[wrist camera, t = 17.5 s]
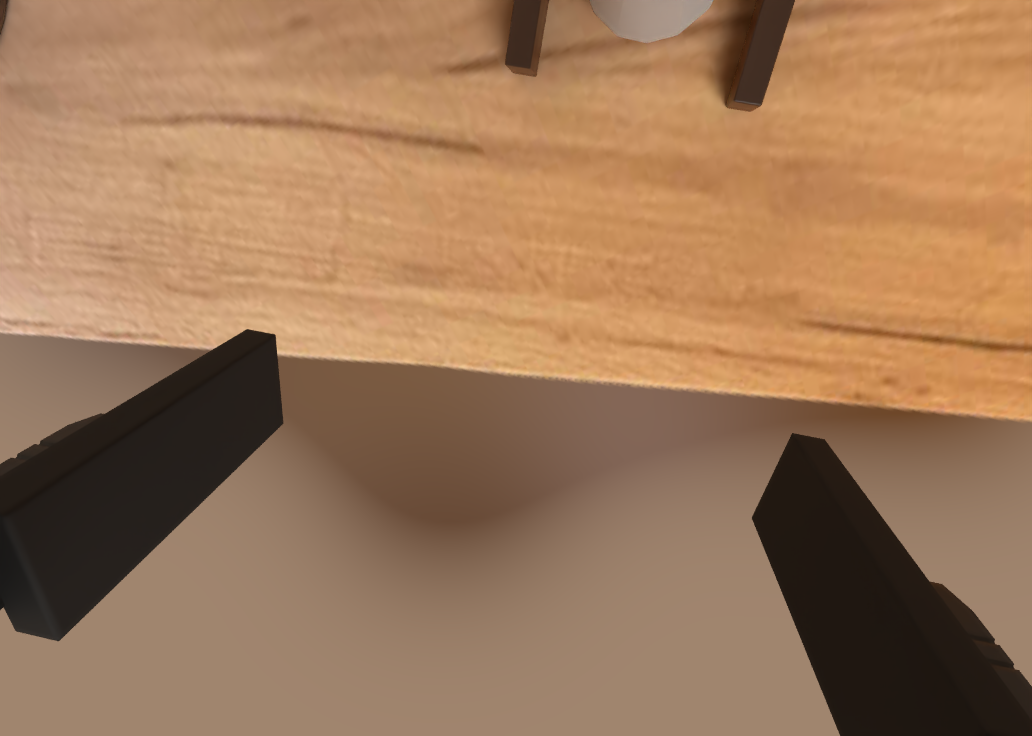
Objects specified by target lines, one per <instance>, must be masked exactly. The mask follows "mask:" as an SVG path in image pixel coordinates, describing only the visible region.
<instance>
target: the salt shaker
mask: <svg viewBox="0 0 1032 736" xmlns="http://www.w3.org/2000/svg"><path fill="white" fill-rule="evenodd" d="M589 1H590V3H591V6H592V9H593V11H594V13H595V14H596V15H597V16H598V17H599V18H600V19H601V20H602V21H603V22H604V23H605V24H606V25H607V26H608V27H609V28H610V29H611V30H612V31H613V32H614V33H615V34H616V35H617V36H618V37H621V38H626V39H630V40H635V41H639V42H643V43H650V42H654V41H658V40H661V39H665V38H669V37H673V36H676V35H679V34H680V33H681V32H682V31H683V30H684V29H686V28H687V27H688V26H689V25H690V24H692V23H693V22H694V21H695V20H696V19H698V18H699V17H700V16H701V15H702V14H703V13H705V12H706V11H707V10H708V9H709V8H710V6H711V4H712V2H713V0H589Z"/></svg>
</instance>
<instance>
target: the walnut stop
mask: <svg viewBox="0 0 1032 736" xmlns="http://www.w3.org/2000/svg"><path fill="white" fill-rule="evenodd" d="M548 2H549V0H514V6H513V13H512V20H511V27H510V34H509V41H508V48H507V55H506V62H505V65H506V66H507V67H508V68H509V69H510V70H511V71H512V72H513V73H516V74H522V75H528V76H534V77H535V76H536V75H537V69H538V63H539V57H540V51H541V45H542V39H543V33H544V27H545V21H546V15H547V8H548ZM794 2H795V0H757V2H756V5H755V9H754V12H753V15H752V19H751V22H750V26H749V29H748V32H747V36H746V39H745V43H744V46H743V49H742V53H741V56H740V60H739V63H738V66H737V70H736V73H735V77H734V80H733V83H732V87H731V90H730V93H729V97H728V100H727V104H726V107H727V108H731V109H737V110H743V111H749V112H751V111H753V110H755V109H756V108H758V107H760V106H761V105H762V102H763V99H764V96H765V93H766V90H767V87H768V84H769V81H770V77H771V74H772V71H773V68H774V65H775V62H776V59H777V55H778V52H779V49H780V46H781V43H782V40H783V37H784V33H785V30H786V27H787V24H788V21H789V18H790V15H791V11H792V8H793V5H794Z"/></svg>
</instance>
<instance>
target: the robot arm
mask: <svg viewBox="0 0 1032 736" xmlns="http://www.w3.org/2000/svg"><path fill="white" fill-rule="evenodd" d="M6 2H7V0H0V34H1V30H2V26H3V23H4V17H5V11H6ZM282 424H283V415H282V403H281V392H280V381H279V369H278V359H277V347H276V336H275V334H269V333H264V332H259V331H254V330H248V329H247V330H245V331H243V332H242V333H240V334H238V335H237V336H235V337H233V338H232V339H230V340H228V341H227V342H225V343H223V344H222V345H220V346H218V347H217V348H215V349H213V350H211V351H210V352H208V353H206V354H205V355H203V356H202V357H200V358H198V359H197V360H195V361H193V362H191V363H190V364H188V365H186V366H185V367H183V368H181V369H180V370H178V371H176V372H175V373H173V374H172V375H169V376H168V377H167V378H164V379H163V380H161V381H159V382H158V383H156V384H154V385H153V386H151V387H150V388H148V389H146V390H145V391H143V392H141V393H139V394H138V395H136V396H134V397H133V398H131V399H129V400H127V401H126V402H124V403H122V404H121V405H119V406H117V407H116V408H114V409H112V410H111V411H109V412H107V413H106V414H98V415H95V416H92V417H90V418H87V419H84V420H81V421H78V422H75V423H73V424H70V425H67V426H66V427H64V428H62V429H61V430H59V431H57V432H55V433H53V434H52V435H50V436H48V437H46V438H45V439H43V440H41V441H40V444H39V445H37V444H34V445H32V446H31V447H29V448H27V449H26V450H24V451H22V452H20V453H19V454H18V455H17V457H16V458H10V459H8V460H6V461H5V462H3V463H1V464H0V610H1V609H2V608H3V607H4V609H5V611H6V613H7V615H8V617H9V619H10V621H11V623H12V625H13V627H14V629H15V630H16V631H17V632H22V633H26V634H30V635H35V636H39V637H43V638H47V639H51V640H56V641H60V640H61V639H62V638H63V637H64V636H65V635H66V634H67V633H68V632H69V631H70V630H71V629H72V628H73V627H74V626H75V625H76V624H77V623H78V622H79V621H80V620H81V619H82V618H83V617H84V616H85V615H86V614H87V613H89V611H90V610H91V609H93V608H94V606H96V605H97V604H98V603H99V602H100V601H101V600H102V599H103V598H104V597H105V596H106V595H107V594H108V593H109V592H110V591H111V590H112V589H113V588H114V587H115V586H116V585H117V584H118V583H119V582H120V581H121V580H123V579H124V577H125V576H127V574H129V573H130V572H131V571H132V570H133V569H134V568H135V567H136V566H137V565H138V564H139V563H140V562H141V561H142V560H143V559H144V558H145V557H146V556H147V555H148V554H149V553H150V552H151V551H152V550H153V549H154V548H155V547H156V546H157V545H159V544H160V543H161V542H162V541H163V540H164V539H165V538H166V537H167V536H168V535H169V534H170V533H171V532H172V531H173V530H174V529H175V528H176V527H177V526H178V525H179V524H180V523H181V522H182V521H183V520H184V519H185V518H186V517H187V516H188V515H189V514H190V513H192V512H193V511H194V510H195V509H196V508H197V507H198V506H199V505H200V504H201V503H202V502H203V501H204V499H206V498H207V497H208V496H209V495H210V494H211V493H212V492H213V491H214V490H215V489H216V488H217V487H218V486H219V485H220V484H221V483H222V482H223V481H225V479H227V478H228V477H229V476H230V475H231V473H233V472H234V471H235V470H236V469H237V468H238V467H239V466H240V465H241V464H242V463H243V462H244V461H245V460H246V459H247V458H248V457H249V456H250V455H251V454H252V453H253V452H254V451H255V450H256V449H258V447H260V446H261V445H262V443H264V442H265V441H266V440H267V439H268V438H269V437H270V436H271V435H272V434H273V433H274V432H275V431H276V430H277V429H278V428H279V427H280V426H281V425H282ZM752 520H753V522H754V525H755V527H756V530H757V532H758V535H759V537H760V539H761V542H762V544H763V547H764V549H765V552H766V554H767V557H768V559H769V562H770V564H771V567H772V569H773V571H774V574H775V576H776V579H777V581H778V584H779V586H780V589H781V591H782V594H783V596H784V598H785V601H786V603H787V606H788V608H789V611H790V613H791V616H792V618H793V621H794V623H795V626H796V628H797V631H798V633H799V635H800V638H801V640H802V643H803V645H804V647H805V650H806V653H807V655H808V657H809V660H810V662H811V665H812V667H813V670H814V672H815V675H816V677H817V680H818V682H819V685H820V687H821V690H822V692H823V695H824V697H825V699H826V702H827V704H828V707H829V709H830V712H831V714H832V717H833V719H834V722H835V724H836V726H837V729H838V731H839V734H840V736H1032V686H1031V685H1030V684H1029V682H1028V681H1027V680H1026V679H1025V677H1024V676H1023V675H1022V674H1021V672H1020V671H1019V670H1015V669H1014V667H1013V665H1014V663H1013V662H1012V661H1011V659H1010V658H1009V657H1008V656H1007V654H1006V653H1005V652H1004V651H1003V649H1002V648H1001V647H1000V645H996V644H995V643H994V641H995V639H994V638H993V636H992V635H991V634H990V633H989V631H988V630H987V629H986V628H985V626H984V625H983V624H982V622H981V621H980V620H979V619H978V617H977V616H976V615H975V613H974V612H973V611H972V610H971V609H970V608H969V607H968V606H966V605H965V604H964V603H963V602H962V601H961V600H959V599H958V598H957V597H956V596H955V595H954V594H953V593H951V592H950V591H949V590H948V589H947V588H946V587H945V586H944V585H942V584H939V583H934V582H929V580H928V579H927V578H926V577H925V575H924V574H923V572H922V571H921V570H920V568H919V567H918V565H917V564H916V563H915V561H914V560H913V559H912V557H911V556H910V555H909V554H908V552H907V551H906V549H905V548H904V546H903V545H902V544H901V542H900V541H899V540H898V539H897V537H896V536H895V534H894V533H893V532H892V530H891V529H890V528H889V526H888V525H887V524H886V522H885V521H884V519H883V518H882V517H881V515H880V514H879V513H878V511H877V510H876V509H875V507H874V506H873V505H872V503H871V502H870V500H869V499H868V498H867V496H866V495H865V494H864V492H863V491H862V490H861V488H860V487H859V485H858V484H857V483H856V481H855V480H854V479H853V477H852V476H851V475H850V473H849V472H848V471H847V469H846V468H845V467H844V465H843V464H842V462H841V461H840V460H839V458H838V457H837V456H836V454H835V453H834V452H833V450H832V449H831V448H830V446H829V445H828V443H827V442H826V441H825V439H820V438H814V437H809V436H804V435H799V434H794V433H792V435H791V437H790V439H789V441H788V443H787V445H786V447H785V450H784V452H783V454H782V456H781V458H780V460H779V462H778V464H777V466H776V468H775V470H774V473H773V475H772V477H771V479H770V481H769V483H768V485H767V487H766V489H765V491H764V493H763V495H762V497H761V500H760V502H759V504H758V506H757V508H756V510H755V512H754V514H753V516H752Z"/></svg>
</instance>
